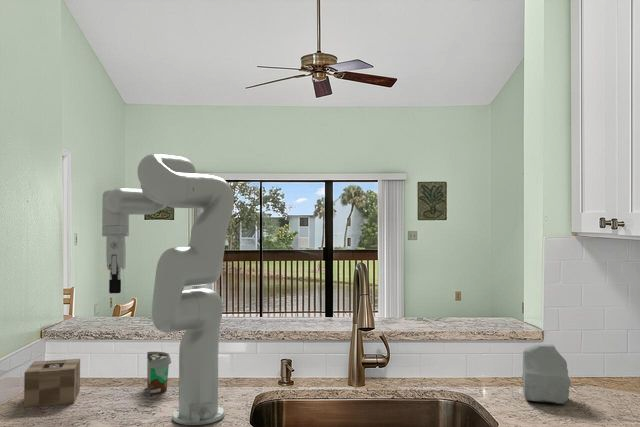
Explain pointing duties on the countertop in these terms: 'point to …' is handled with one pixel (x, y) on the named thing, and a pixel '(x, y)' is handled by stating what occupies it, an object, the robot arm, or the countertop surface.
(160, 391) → the food container
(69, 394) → the socket block
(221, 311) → the robot arm
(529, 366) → the stone
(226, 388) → the countertop surface
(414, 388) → the countertop surface
